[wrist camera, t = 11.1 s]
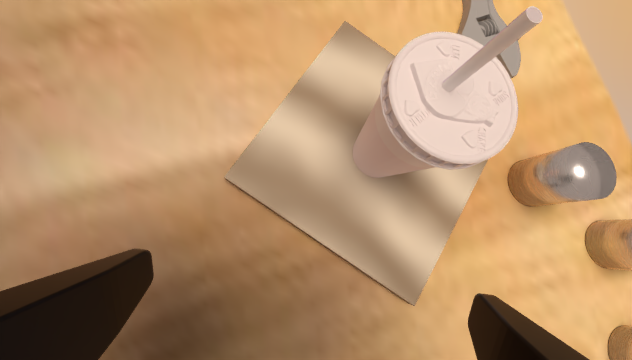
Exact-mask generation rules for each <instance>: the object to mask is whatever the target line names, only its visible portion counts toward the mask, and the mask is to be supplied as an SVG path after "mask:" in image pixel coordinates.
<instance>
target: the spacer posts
mask: <svg viewBox="0 0 632 360" xmlns="http://www.w3.org/2000/svg"><path fill="white" fill-rule="evenodd" d="M508 184H509V188H510V190H511V192H512V194H513V196H514V197H515V198H516V199H517V200H518V201H519V202H520V203H522V204H524V205H527V206H542V205H551V204H559V203H568V202H577V201H586V200H595V199H602V198H605V197H607V196H609V195H610V194H611V193H612V191H613V190H614V188H615V185H616V170H615V167H614V164H613V162H612V160H611V158H610V157H609V155H608V154H607V153H606V152H605V151H604V150H603V149H602V148H600V147H599V146H597V145H595V144H592V143H588V142H584V143H579V144H576V145H572V146H569V147H566V148H562V149H559V150H556V151H552V152H549V153H545V154H542V155H539V156H535V157H532V158H529V159H525V160H522V161H519V162H517V163H515V164H514V165H513V166H512V167H511V169H510V171H509V174H508ZM585 242H586V248H587V251H588V253H589V255H590V257H591V258H592V259H593V261H594V262H595V263H597V264H598V265H599V266H601V267H604V268H609V269H620V270H630V271H632V219H629V220H608V221H596V222H594V223H592V224H591V225H590V226H589V228H588V229H587V232H586V237H585ZM608 353H609V357H610V360H632V327H631V326H627V325H623V326H619V327H617V328H616V329H615V330H614V331H613V332H612V334H611V336H610V338H609V343H608Z"/></svg>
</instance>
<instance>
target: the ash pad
mask: <svg viewBox="0 0 632 360" xmlns="http://www.w3.org/2000/svg"><path fill="white" fill-rule="evenodd" d="M394 58H395V56H394V55H392V54H391V53H390V52H388V51H387V50H385V49H384V48H383V47H381V46H380V45H378V44H377V43H376V42H374V41H373V40H371V39H370V38H369V37H367V36H366V35H364V34H363V33H362V32H360V31H359V30H357V29H356V28H355V27H353V26H352V25H350V24H349V23H347V22H346V21H344V23H343V24H342V25H341V27H340V28H339V29H338V31H337V32H336V33H335V34H334V36H333V37H332V38H331V40H330V41H329V42H328V43H327V45H326V46H325V47H324V49H323V50H322V51H321V53H320V54H319V55H318V56H317V58H316V59H315V60H314V62H313V63H312V64H311V65H310V67H309V68H308V69H307V71H306V72H305V73H304V74H303V76H302V77H301V78H300V80H299V81H298V82H297V84H296V85H295V86H294V87H293V89H292V90H291V91H290V93H289V94H288V95H287V96H286V98H285V99H284V100H283V102H282V103H281V104H280V105H279V107H278V108H277V109H276V111H275V112H274V113H273V115H272V116H271V117H270V118H269V120H268V121H267V122H266V124H265V125H264V126H263V127H262V129H261V130H260V131H259V133H258V134H257V135H256V137H255V138H254V139H253V140H252V142H251V143H250V144H249V146H248V147H247V148H246V149H245V151H244V152H243V153H242V155H241V156H240V157H239V158H238V160H237V161H236V162H235V164H234V165H233V166H232V168H231V169H230V170H229V171H228V173H227V174H226V175H225V179H226V180H228V181H229V182H231V183H232V184H233V185H235V186H236V187H238V188H239V189H241V190H242V191H244V192H245V193H247V194H248V195H250V196H251V197H253V198H254V199H256V200H257V201H259V202H260V203H262V204H263V205H264V206H266V207H267V208H269V209H270V210H272V211H273V212H275V213H276V214H278V215H279V216H281V217H282V218H284V219H285V220H287V221H288V222H290V223H291V224H293V225H294V226H295V227H297V228H298V229H300V230H301V231H303V232H304V233H306V234H307V235H309V236H310V237H312V238H313V239H315V240H316V241H318V242H319V243H321V244H322V245H324V246H325V247H326V248H328V249H329V250H331V251H332V252H334V253H335V254H337V255H338V256H340V257H341V258H343V259H344V260H346V261H347V262H349V263H350V264H352V265H353V266H354V267H356V268H357V269H359V270H360V271H362V272H363V273H365V274H366V275H368V276H369V277H371V278H372V279H374V280H375V281H377V282H378V283H380V284H381V285H383V286H384V287H385V288H387V289H388V290H390V291H391V292H393V293H394V294H396V295H397V296H399V297H400V298H402V299H403V300H405V301H406V302H408V303H409V304H411V305H413V306H415V304H416V302H417V300H418V298H419V296H420V294H421V292H422V290H423V288H424V286H425V284H426V282H427V280H428V278H429V276H430V274H431V272H432V270H433V268H434V266H435V264H436V262H437V260H438V258H439V256H440V254H441V252H442V250H443V248H444V246H445V244H446V242H447V240H448V238H449V236H450V234H451V232H452V230H453V228H454V226H455V224H456V222H457V220H458V218H459V216H460V214H461V212H462V210H463V208H464V206H465V204H466V202H467V200H468V198H469V196H470V194H471V192H472V190H473V188H474V186H475V184H476V182H477V180H478V178H479V176H480V174H481V172H482V170H483V168H484V166H485V164H486V162H487V160H488V159H487V160H484V161H482V162H481V163H478V164H476V165H473V166H471V167H468V168H465V169H453V170H448V169H443V168H438V167H435V168H429V169H423V170H418V171H413V172H408V173H403V174H397V175H392V176H387V177H382V178H374V177H370V176H368V175H366V174H364V173H363V172H361V171H360V170H359V168H358V167H357V166H356V164H355V162H354V159H353V146H354V143H355V141H356V139H357V137H358V135H359V134H360V132H361V130H362V128H363V126H364V124H365V122H366V120H367V118H368V116H369V114H370V112H371V111H372V109H373V107H374V105H375V103H376V101H377V99H378V97H379V95H380V90H381V81H382V78H383V76H384V73H385V71H386V69H387V66H388V65H389V64H390V62H391V61H392V60H393V59H394Z"/></svg>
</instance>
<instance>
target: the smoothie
mask: <svg viewBox="0 0 632 360" xmlns="http://www.w3.org/2000/svg"><path fill="white" fill-rule="evenodd" d="M542 18H543V16H542V13H541V11H540V10H539V9H538V8H536V7H533V6H531V7H528V8H527V9H526V10H525V11H524V12H523V13H521V14H520V15H519V16H518V17H517V18H516V19H515V20H513V21H512V22H511V23H510V24H509V25H508V26H507V27H505V28H504V29H503V30H502V31H501V32H500V33H498V34H497V35H496V36H495V37H494V38H493V39H492V40H490V41H489V42H488V43H487V44H486V45H485V46H483V45H482V44H480V43H478V42H476V41H475V40H473V39H471V38H469V37H466V36H463V35H460V34H456V33H451V32H432V33H427V34H424V35H421V36H419V37H416V38H415V39H413V40H411V41H410V42H409V43H407V44H406V45H405V46H404V47H403V48H402V49H401V50H400V52H399V53H398V54H397V55H396V56H395V58H394V59H393V60H392V61H391V62H390V64H389V65H388V66H387V69H386V71H385V73H384V76H383V78H382V81H381V90H380V95H379V97H378V99H377V101H376V103H375V105H374V107H373V109H372V111H371V112H370V114H369V116H368V118H367V120H366V122H365V124H364V126H363V128H362V130H361V132H360V134H359V135H358V137H357V139H356V141H355V143H354V146H353V159H354V162H355V164H356V166H357V167H358V168H359V170H360V171H361V172H363V173H364V174H366V175H368V176H370V177H374V178H382V177H387V176H392V175H397V174H403V173H408V172H413V171H418V170H423V169H429V168H435V167H438V168H443V169H448V170H453V169H465V168H468V167H471V166H473V165H476V164H478V163H481V162H482V161H484V160H487V159H489V158H491V157H493V156H494V155H496V154H497V153H499V152H500V151H501V150H502V149H503V148H504V147H505V146H506V144H507V143H508V142H509V140H510V139H511V137H512V135H513V133H514V130H515V127H516V123H517V117H518V103H517V95H516V92H515V88H514V85H513V82H512V80H511V78H510V76H509V74H508V72H507V71H506V69H505V68H504V66H503V65H502V63H501V62H500V61H499V60H498V59H497V57H496V56H497V55H498V54H500V53H501V52H502V51H504V50H505V49H506V48H507V47H509V46H510V45H511V44H513V43H514V42H515V41H516V40H518V39H519V38H520V37H522V36H523V35H524V34H525V33H527V32H528V31H529V30H531V29H532V28H533V27H534V26H536V25H537V24H538V23H540V22H541V21H542Z"/></svg>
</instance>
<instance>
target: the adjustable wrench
mask: <svg viewBox="0 0 632 360" xmlns="http://www.w3.org/2000/svg"><path fill="white" fill-rule="evenodd" d="M462 2H463V15H462V20H461V23H460V27H459V30H458V33H457V34H460V35H463V36H466V37H469V38H471V39H473V40H475V41H476V42H478V43H480V44H482V45H483V46H485V45H486V44H487V43H488V42H489V41H490V40H492V39H493V38H494V37H495V36H496V35H497V34H498V33H500V32H501V31H502V30H503V29H504V28H505V27H507V25H506V24H505V23H504V21H503V20H502V19H501V18H500V16H499V15H498V13H497V11H496V9H495V7H494V4H493V0H462ZM520 38H521V37H520ZM520 38H519V39H520ZM519 39H518V40H519ZM518 40H516V41H515V42H514V43H513V44H511V45H510V46H509V47H507V48H506V49H505V50H504V51H502V52H501V53H500V54H498V55H497V56H496V57H497V59H498V60H499V61H500V62H501V63H502V65H503V66H504V68H505V69H506V71H507V72H508V74H509V76H510V78H513V77H514V76H516V75H517V73H518V70H519V67H520V61H521V55H520V48H519V44H518Z"/></svg>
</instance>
